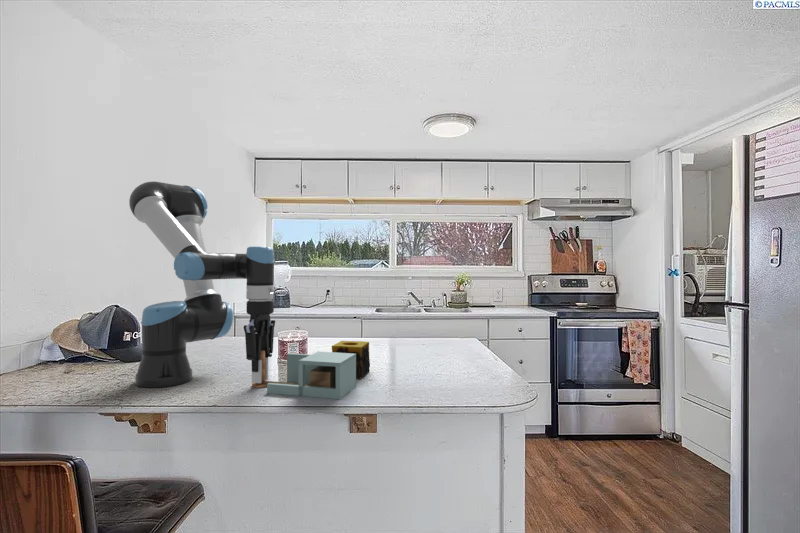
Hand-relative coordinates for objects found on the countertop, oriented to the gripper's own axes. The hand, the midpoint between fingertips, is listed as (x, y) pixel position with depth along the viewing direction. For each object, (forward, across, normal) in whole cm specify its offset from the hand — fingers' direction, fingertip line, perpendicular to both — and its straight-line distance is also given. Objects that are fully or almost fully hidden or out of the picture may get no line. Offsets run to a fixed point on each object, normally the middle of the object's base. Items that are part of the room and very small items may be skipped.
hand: (260, 381), depth 130 cm
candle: (+2, +19, -21) cm, 28 cm away
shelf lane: (+1, 0, -16) cm, 16 cm away
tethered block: (+1, 0, -10) cm, 10 cm away
